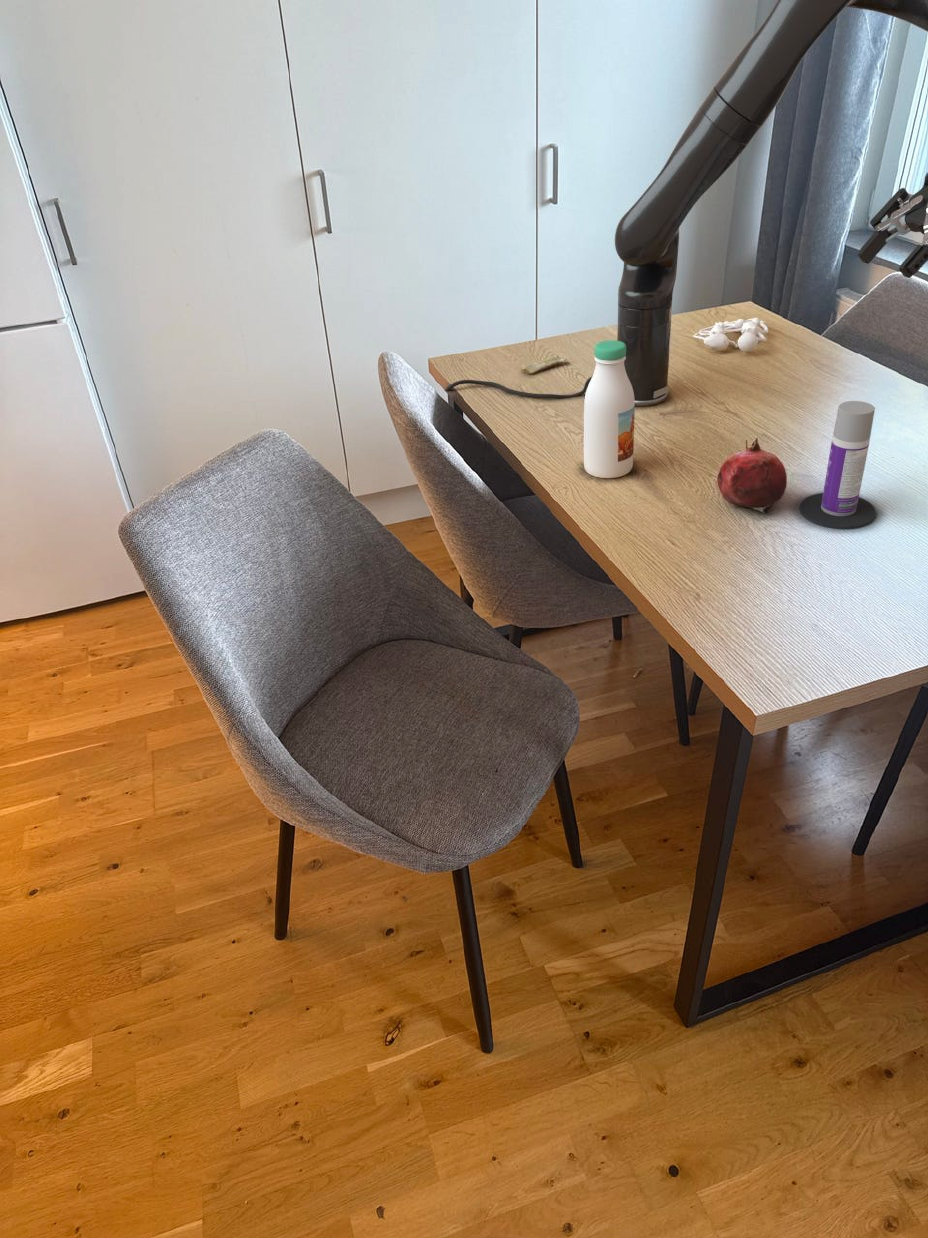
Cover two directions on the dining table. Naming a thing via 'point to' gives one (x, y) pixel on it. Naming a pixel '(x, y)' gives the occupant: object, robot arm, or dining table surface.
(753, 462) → the fruit
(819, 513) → the coaster
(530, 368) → the snack bar
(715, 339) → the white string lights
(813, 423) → the dining table surface
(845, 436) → the container
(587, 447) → the milk bottle
